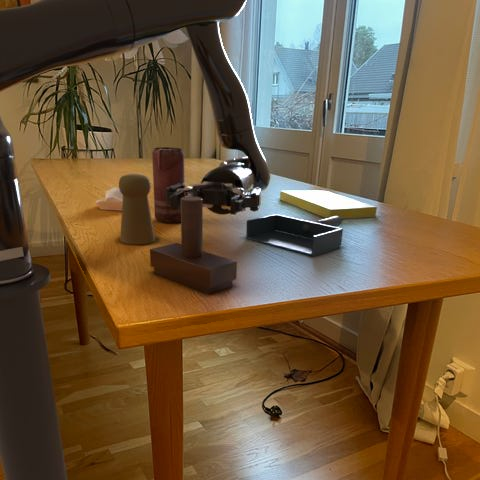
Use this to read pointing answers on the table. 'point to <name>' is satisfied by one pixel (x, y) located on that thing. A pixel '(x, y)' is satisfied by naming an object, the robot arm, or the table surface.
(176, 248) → the stamp
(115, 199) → the pale pink lumpy piece
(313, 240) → the dustpan
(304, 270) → the table surface
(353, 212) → the yellow foam board
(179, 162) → the can
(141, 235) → the cork
